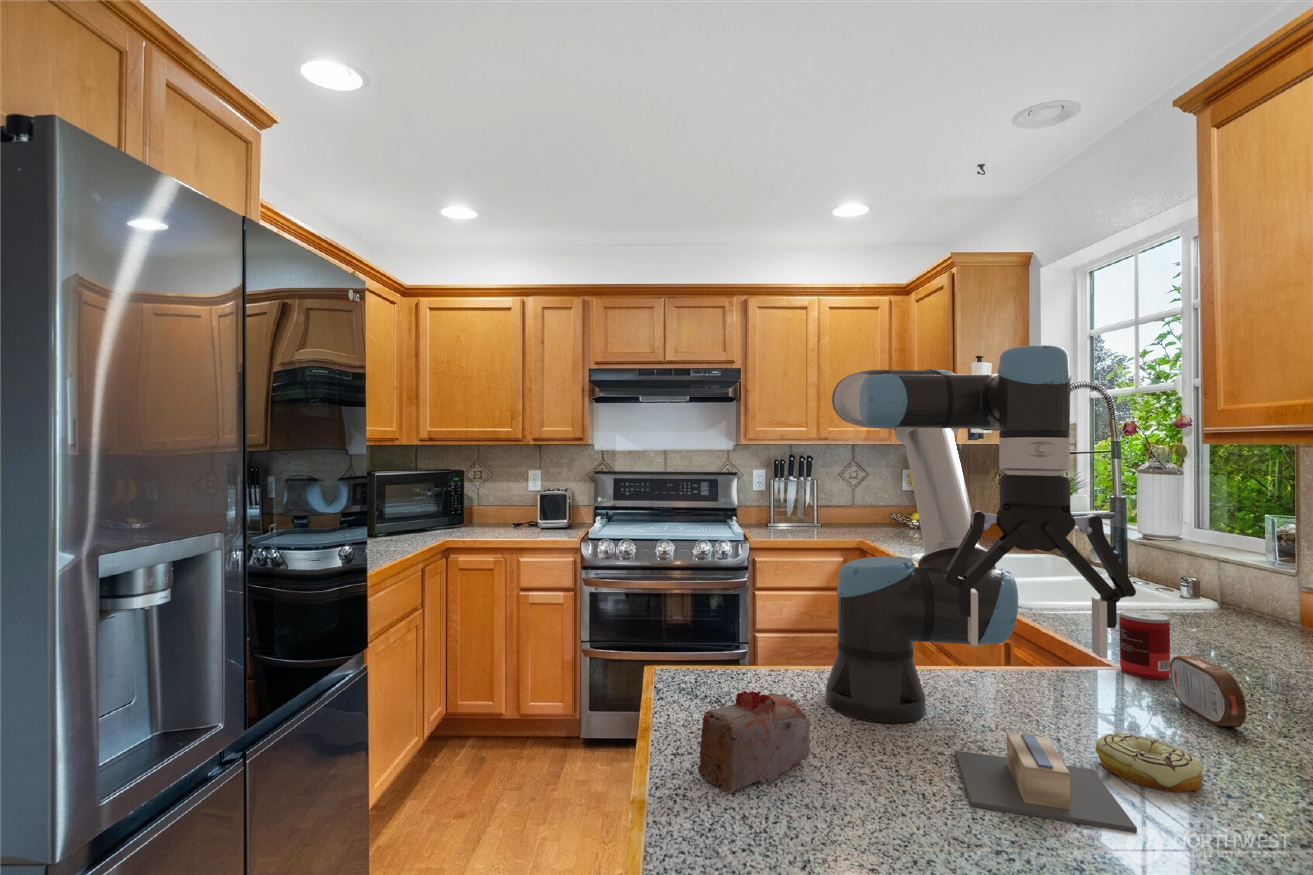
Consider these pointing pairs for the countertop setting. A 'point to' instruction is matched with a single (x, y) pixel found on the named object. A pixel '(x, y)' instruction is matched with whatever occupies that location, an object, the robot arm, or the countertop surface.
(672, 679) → the countertop surface
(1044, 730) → the countertop surface
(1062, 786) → the card box
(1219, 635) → the countertop surface
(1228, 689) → the tin
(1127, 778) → the decorated donut
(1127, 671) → the canned food
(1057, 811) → the mat
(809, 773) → the countertop surface
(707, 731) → the food item
